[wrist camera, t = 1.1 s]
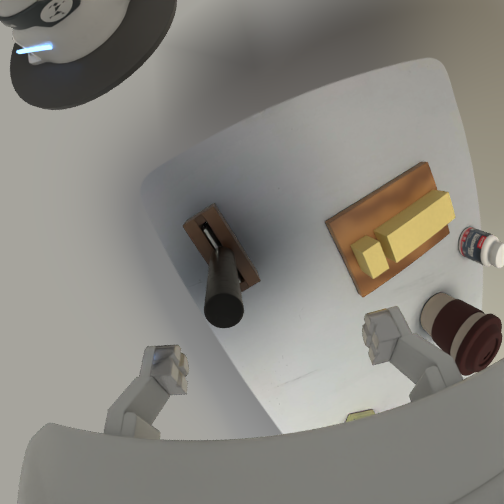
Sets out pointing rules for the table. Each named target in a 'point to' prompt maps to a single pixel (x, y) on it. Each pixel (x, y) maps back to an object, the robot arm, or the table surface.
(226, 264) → the knife
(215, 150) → the table surface
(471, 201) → the table surface
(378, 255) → the butter slice
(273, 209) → the table surface
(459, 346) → the coffee cup
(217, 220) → the knife holder
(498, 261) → the pill bottle
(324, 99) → the table surface
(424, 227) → the butter block
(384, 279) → the cutting board
